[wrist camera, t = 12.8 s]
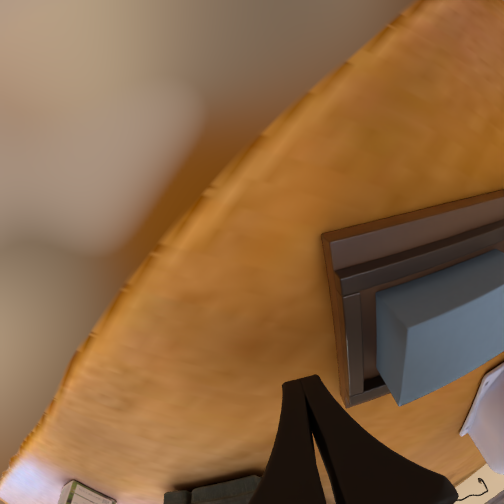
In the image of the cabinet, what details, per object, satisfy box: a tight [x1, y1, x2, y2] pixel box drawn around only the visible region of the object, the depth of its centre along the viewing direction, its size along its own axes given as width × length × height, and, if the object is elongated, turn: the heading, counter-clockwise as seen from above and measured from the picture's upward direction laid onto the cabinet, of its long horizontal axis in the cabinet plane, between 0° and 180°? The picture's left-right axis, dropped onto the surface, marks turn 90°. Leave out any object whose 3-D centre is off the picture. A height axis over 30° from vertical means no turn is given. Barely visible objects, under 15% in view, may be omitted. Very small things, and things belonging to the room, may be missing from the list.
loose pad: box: [375, 249, 504, 406], centre depth 11 cm, size 5×8×3 cm, turn 104°
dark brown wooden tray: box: [321, 190, 504, 408], centre depth 13 cm, size 10×21×2 cm, turn 104°
